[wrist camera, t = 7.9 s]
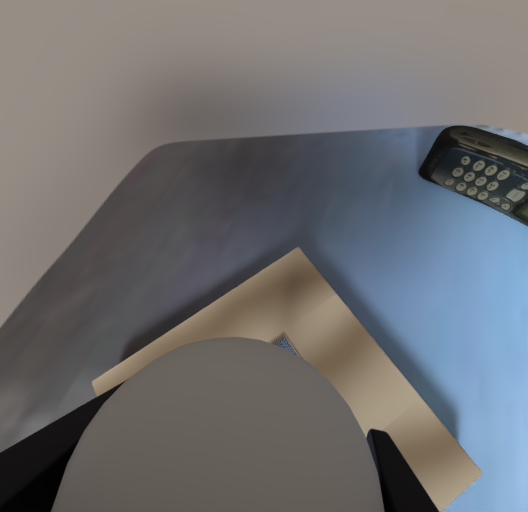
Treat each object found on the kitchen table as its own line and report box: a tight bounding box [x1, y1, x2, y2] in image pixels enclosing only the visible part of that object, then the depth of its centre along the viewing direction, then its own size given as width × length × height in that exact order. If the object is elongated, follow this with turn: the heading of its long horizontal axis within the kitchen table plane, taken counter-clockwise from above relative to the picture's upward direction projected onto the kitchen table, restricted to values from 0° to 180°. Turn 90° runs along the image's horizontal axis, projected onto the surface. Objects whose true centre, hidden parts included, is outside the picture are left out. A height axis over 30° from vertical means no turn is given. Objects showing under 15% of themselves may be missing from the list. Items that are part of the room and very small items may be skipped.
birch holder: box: [92, 247, 483, 512], centre depth 18 cm, size 16×16×2 cm
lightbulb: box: [51, 337, 385, 512], centre depth 8 cm, size 6×6×11 cm
